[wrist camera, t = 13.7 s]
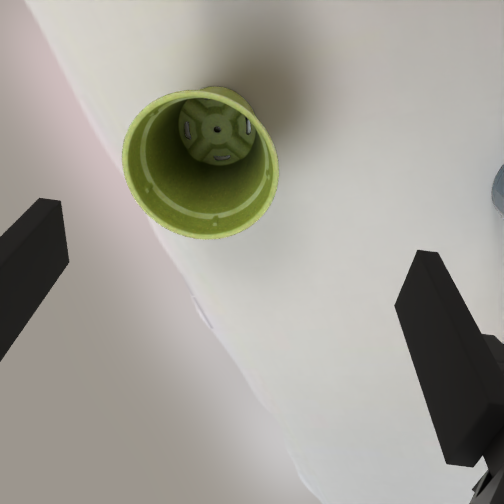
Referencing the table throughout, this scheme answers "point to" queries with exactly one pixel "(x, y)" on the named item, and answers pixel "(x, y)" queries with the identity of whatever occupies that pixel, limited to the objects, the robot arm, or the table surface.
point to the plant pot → (200, 163)
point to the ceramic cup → (499, 192)
